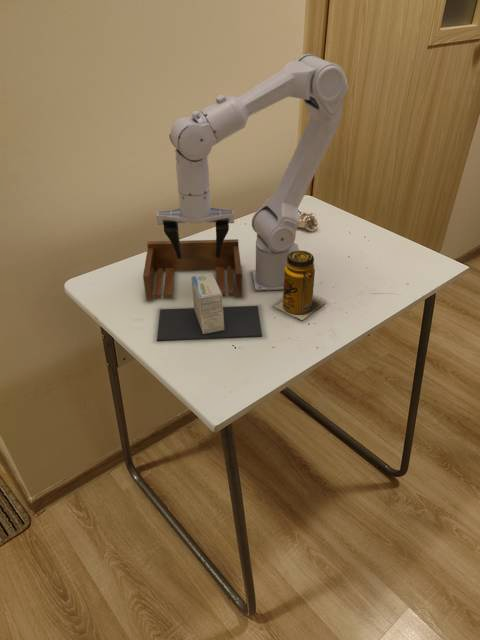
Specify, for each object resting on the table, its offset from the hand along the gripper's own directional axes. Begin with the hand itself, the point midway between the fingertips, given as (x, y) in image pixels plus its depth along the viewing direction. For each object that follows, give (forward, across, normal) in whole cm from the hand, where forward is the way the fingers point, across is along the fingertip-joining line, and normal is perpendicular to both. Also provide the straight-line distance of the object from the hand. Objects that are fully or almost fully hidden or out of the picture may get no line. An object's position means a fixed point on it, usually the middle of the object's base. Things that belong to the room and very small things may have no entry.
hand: (198, 255), depth 101 cm
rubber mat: (+9, -2, +10) cm, 14 cm away
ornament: (+10, -28, -32) cm, 43 cm away
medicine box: (+9, -1, +10) cm, 14 cm away
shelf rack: (+9, +1, -5) cm, 11 cm away
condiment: (+10, -21, +6) cm, 23 cm away
